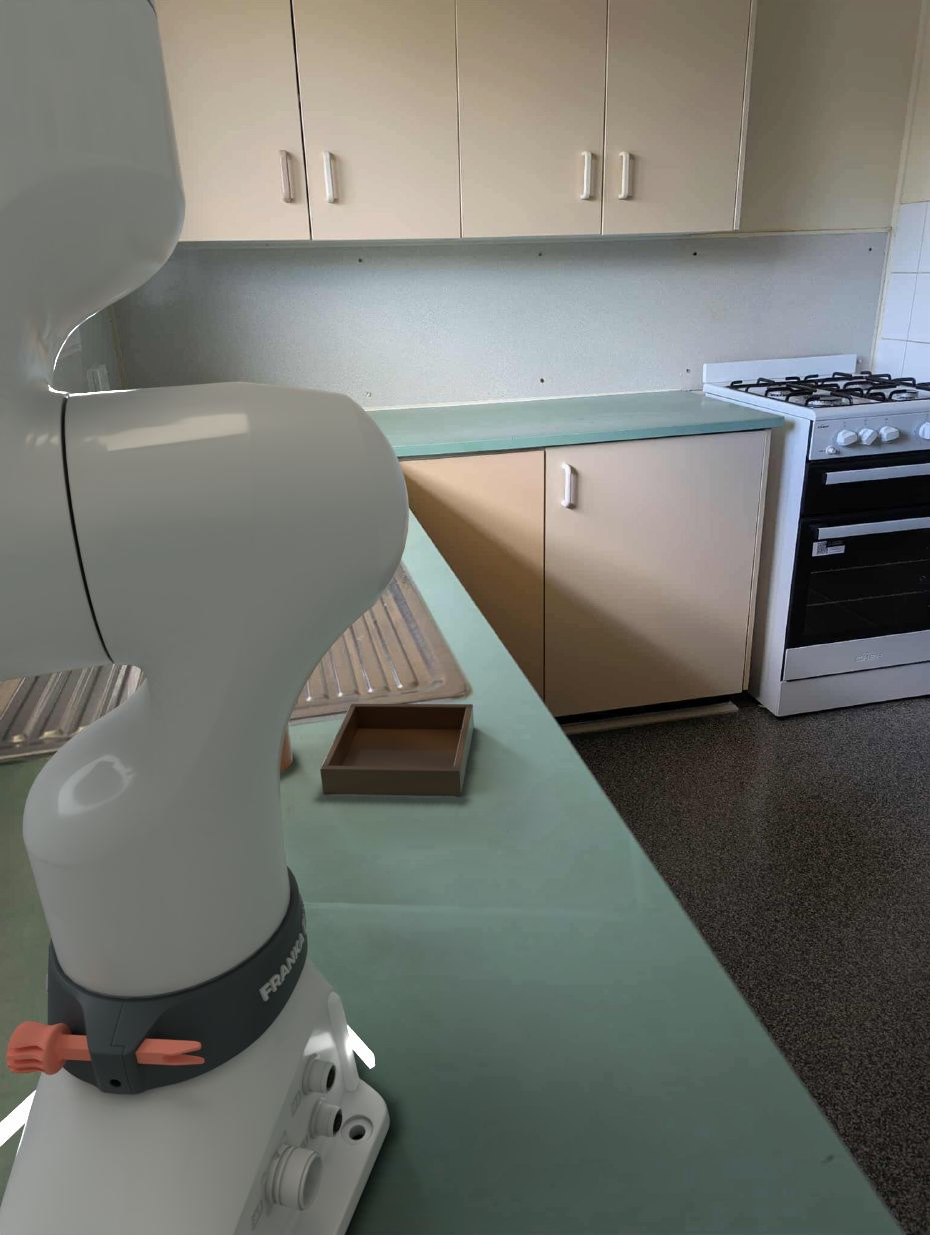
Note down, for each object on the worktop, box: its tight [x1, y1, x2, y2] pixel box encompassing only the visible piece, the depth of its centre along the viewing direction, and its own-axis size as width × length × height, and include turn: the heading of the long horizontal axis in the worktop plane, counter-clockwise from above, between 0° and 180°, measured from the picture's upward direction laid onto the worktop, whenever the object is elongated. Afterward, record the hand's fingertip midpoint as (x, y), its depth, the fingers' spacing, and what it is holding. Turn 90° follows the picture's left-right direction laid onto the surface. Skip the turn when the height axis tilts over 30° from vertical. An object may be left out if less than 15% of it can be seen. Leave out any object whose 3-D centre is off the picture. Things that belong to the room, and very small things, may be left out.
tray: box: [319, 703, 475, 797], centre depth 81 cm, size 12×12×3 cm
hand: (125, 598), depth 79 cm, fingers open, 8 cm apart
